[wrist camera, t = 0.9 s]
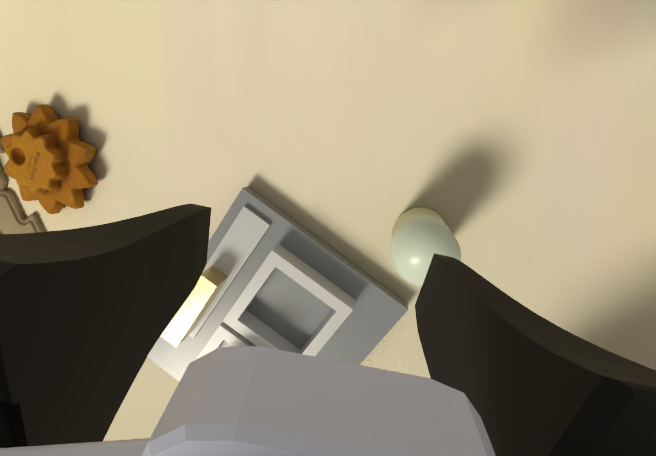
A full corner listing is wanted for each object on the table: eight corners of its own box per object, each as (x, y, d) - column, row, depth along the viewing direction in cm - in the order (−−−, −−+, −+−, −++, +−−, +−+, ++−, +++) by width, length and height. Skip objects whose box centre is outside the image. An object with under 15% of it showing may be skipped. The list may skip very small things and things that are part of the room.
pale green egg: (458, 228, 24) (475, 250, 20) (423, 269, 26) (431, 299, 21) (414, 196, 24) (420, 210, 20) (381, 238, 26) (379, 260, 21)
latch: (228, 277, 27) (216, 286, 25) (189, 334, 28) (176, 347, 27) (212, 265, 27) (200, 274, 25) (174, 323, 28) (160, 335, 27)
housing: (407, 303, 26) (411, 349, 20) (282, 445, 31) (257, 515, 25) (248, 186, 26) (207, 199, 20) (147, 345, 31) (91, 393, 25)
